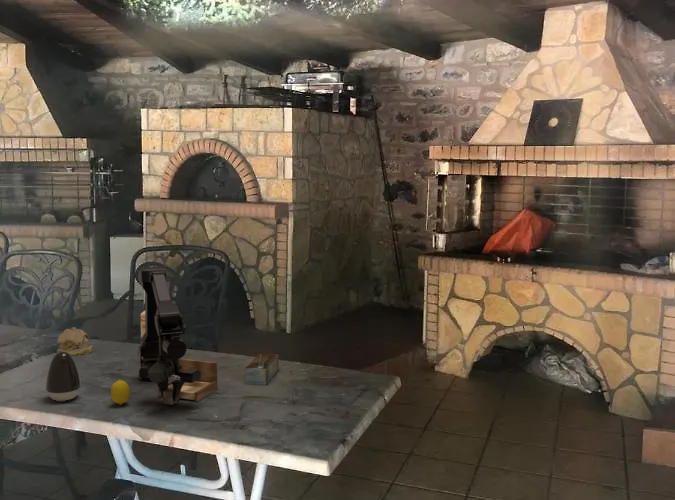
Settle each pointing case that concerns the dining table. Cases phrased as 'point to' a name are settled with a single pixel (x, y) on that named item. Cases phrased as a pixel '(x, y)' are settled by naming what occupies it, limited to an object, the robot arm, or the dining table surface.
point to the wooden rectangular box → (262, 369)
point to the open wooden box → (207, 376)
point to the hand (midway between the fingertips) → (170, 400)
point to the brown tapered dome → (63, 377)
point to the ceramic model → (74, 342)
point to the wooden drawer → (183, 392)
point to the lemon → (120, 392)
